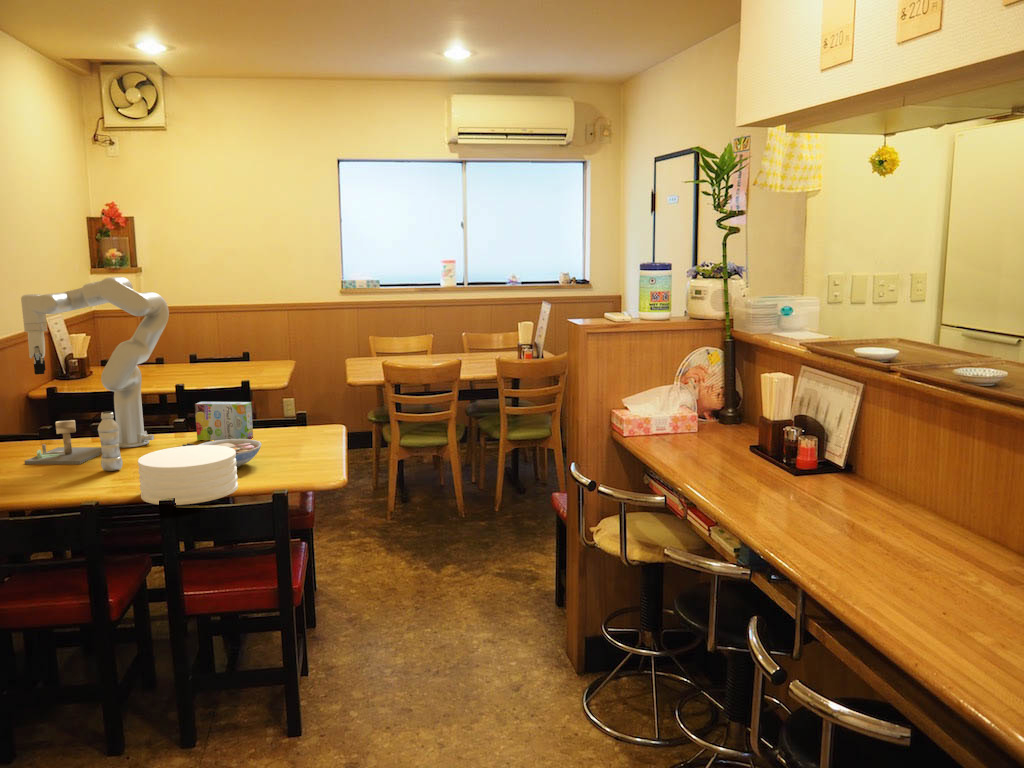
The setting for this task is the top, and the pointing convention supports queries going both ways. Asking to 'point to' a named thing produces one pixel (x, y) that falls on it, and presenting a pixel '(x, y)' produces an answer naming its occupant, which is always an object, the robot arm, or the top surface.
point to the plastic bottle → (109, 442)
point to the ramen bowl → (238, 448)
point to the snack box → (223, 420)
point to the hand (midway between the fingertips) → (40, 372)
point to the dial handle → (66, 429)
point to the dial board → (66, 456)
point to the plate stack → (188, 474)
